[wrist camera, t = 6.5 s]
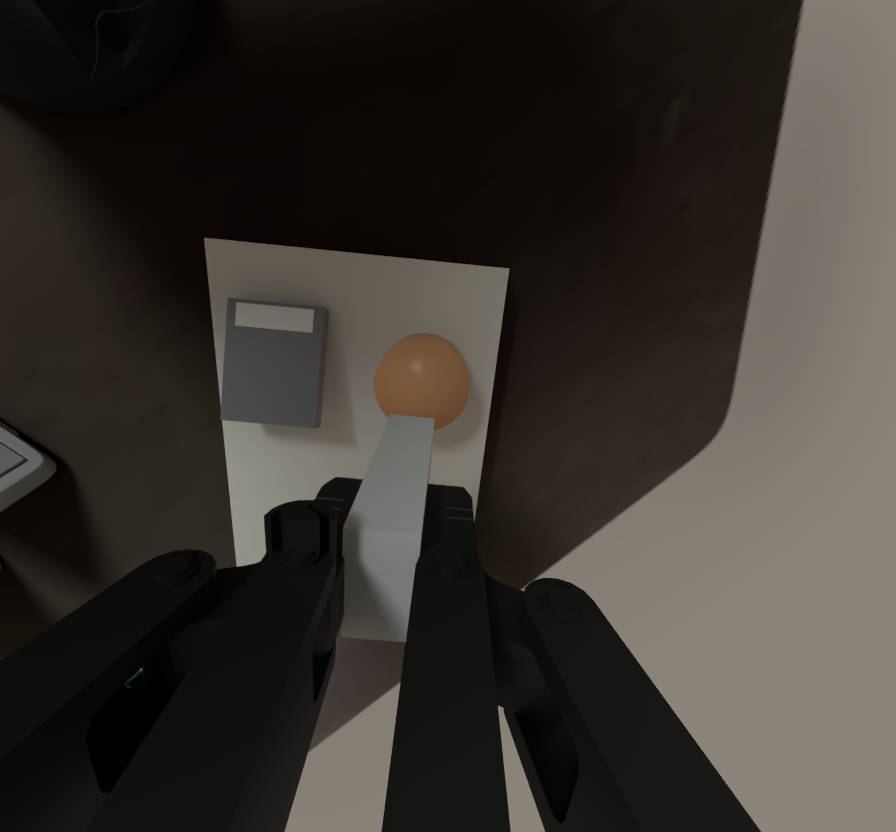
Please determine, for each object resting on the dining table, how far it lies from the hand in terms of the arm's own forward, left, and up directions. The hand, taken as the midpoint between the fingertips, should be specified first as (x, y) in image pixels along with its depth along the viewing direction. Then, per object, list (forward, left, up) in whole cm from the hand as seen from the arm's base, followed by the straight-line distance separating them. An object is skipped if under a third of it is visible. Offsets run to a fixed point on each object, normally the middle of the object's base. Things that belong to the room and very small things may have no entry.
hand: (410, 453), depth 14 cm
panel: (+5, -4, -13) cm, 15 cm away
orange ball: (0, 0, -12) cm, 12 cm away
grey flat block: (0, -8, -9) cm, 12 cm away
